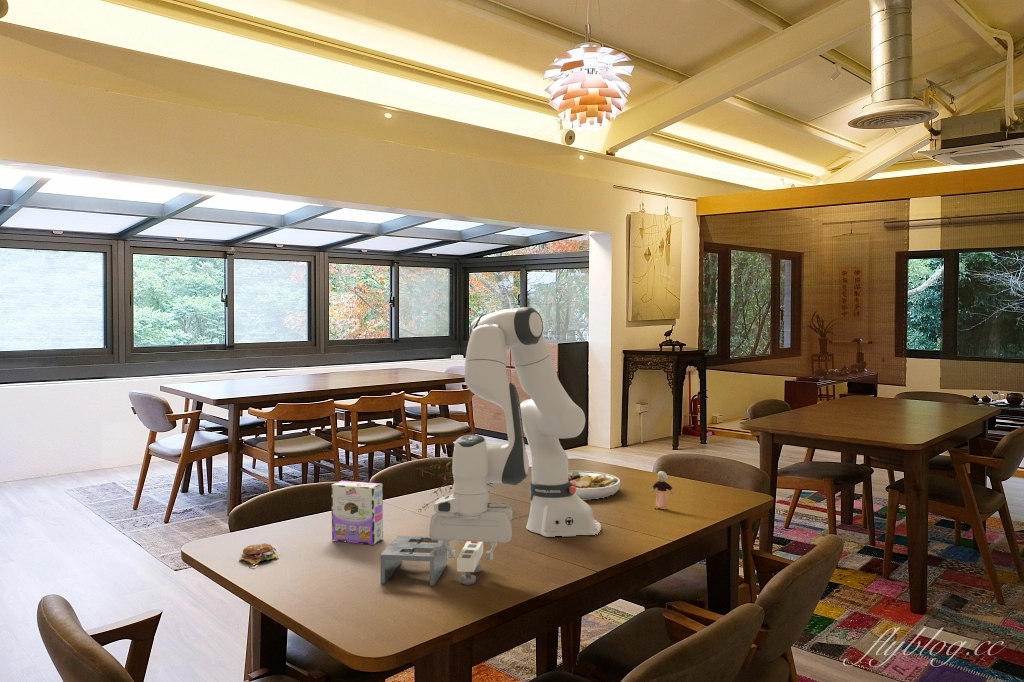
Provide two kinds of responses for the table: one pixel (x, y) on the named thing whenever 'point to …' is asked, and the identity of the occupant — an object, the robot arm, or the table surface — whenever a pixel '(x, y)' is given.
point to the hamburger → (258, 553)
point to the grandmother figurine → (662, 490)
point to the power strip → (469, 561)
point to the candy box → (357, 512)
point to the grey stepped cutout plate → (414, 555)
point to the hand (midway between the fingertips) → (470, 558)
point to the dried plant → (439, 472)
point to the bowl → (593, 484)
